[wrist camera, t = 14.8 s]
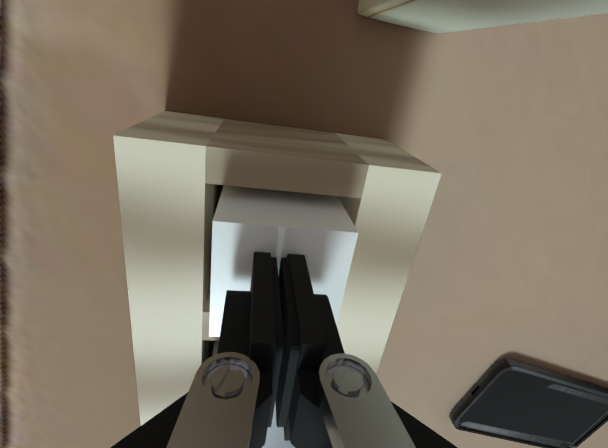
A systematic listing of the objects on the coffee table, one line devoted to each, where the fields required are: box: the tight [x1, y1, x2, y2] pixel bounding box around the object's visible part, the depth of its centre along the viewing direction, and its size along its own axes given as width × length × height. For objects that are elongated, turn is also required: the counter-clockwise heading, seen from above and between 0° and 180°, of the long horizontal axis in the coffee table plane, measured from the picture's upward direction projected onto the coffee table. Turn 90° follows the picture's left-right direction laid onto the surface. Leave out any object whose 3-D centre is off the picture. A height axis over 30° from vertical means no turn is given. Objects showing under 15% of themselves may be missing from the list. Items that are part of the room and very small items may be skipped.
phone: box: [449, 359, 608, 448], centre depth 29 cm, size 8×1×15 cm
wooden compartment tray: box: [113, 111, 442, 425], centre depth 18 cm, size 22×11×6 cm, turn 172°
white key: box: [209, 185, 358, 337], centre depth 14 cm, size 4×4×6 cm
